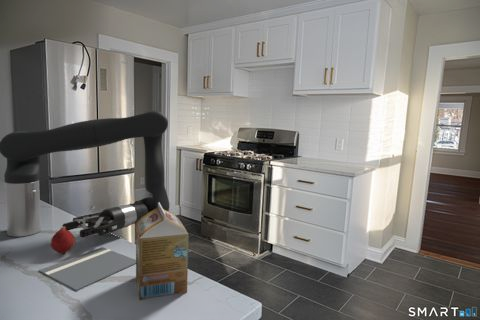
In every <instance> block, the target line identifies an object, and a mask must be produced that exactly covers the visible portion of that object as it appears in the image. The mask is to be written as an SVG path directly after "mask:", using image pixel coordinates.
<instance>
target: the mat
mask: <svg viewBox="0 0 480 320" xmlns="http://www.w3.org/2000/svg"><path fill="white" fill-rule="evenodd" d="M134 265H135V266H136V258H132V257H129V256H127V255H125V254H121V253H119V252H116V251H115V250H112V249H110V248H105V247H103V246H102V247H99V248H96V249H93V250H90V251H87V252H85V253H82V254H80V255H77V256H74V257H71V258H68V259H66V260H65V259H64V260H63V261H60V262H58V263H54V264H52V265H49V266H47V267H44V268H40V269H39V270H38V271H39V272H40V273H42V274H43V275H46V276H47V277H49V278H51V279H53V280H55V281H56V282H58V283H61V284H62V285H64V286H66V287H67V288H70V289H71V290H74V291H75V292H78V291H80V290H83V289H84V288H86V287H87V288H88V286H89V287H90V286H91V285H93V284H96V283H98V282H99V281H102V280H104V279H106V278H109V277H111V276H113V275H115V274H118V273H119V272H121V271H123V270H126V269H128V268H130V267H132V266H134Z"/></svg>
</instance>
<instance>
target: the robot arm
mask: <svg viewBox="0 0 480 320" xmlns="http://www.w3.org/2000/svg"><path fill="white" fill-rule="evenodd" d="M168 121H169V120H168V119H167V116H166V115H165V113H163V112H161V111H159V110H149V111H146V112H144V113H140V114H136V115H135V114H134V115H132V116H127V117H114V118H113V117H112V118H111V117H110V118H109V117H108V118H107V117H106V118H99V119H98V118H97V119H96V118H95V119H90V120H83V121H79V122H74V123H73V122H72V123H69V124H64V125H63V126H59V127H55V128H52V129H46V130H39V131H38V130H37V131H35V130H34V131H25V130H24V131H23V130H20V131H19V130H18V131H14V132H10V133H8V134H6V135H5V136H4V137H2V138H1V140H0V154H1V155H2V157H4V158H6V168H5V172H4V192H5V213H6V214H5V215H6V233H7V234H6V235H7V236H9V237H14V238H15V237H16V238H18V237H27V236H31V235H35V234H37V233H39V232H41V230H42V227H41V226H42V224H41V223H42V222H41V221H42V220H41V199H40V198H41V196H40V191H41V190H40V172H41V156H45V155H47V154H48V155H49V154H52V153H59V152H69V151H70V152H72V151H79V150H86V149H93V148H98V147H104V146H107V145H111V144H116V143H118V142H122V141H125V140H130V139H135V138H143V145H144V184H145V185H144V187H145V191H147V192H148V193H150V194H151V195H152V196H147V197H144V198H142V199H140V200H138V201H137V202H133V203H129V204H121V205H118V206H112V207H109V208H106V209H103V210H102V211H101V212H100V214H99V215H92V214H91V213H90V214H85V215H81V216H75V217H73V218H72V221H69V222H65V223H63V224H62V225H61V227H66V230H68V231H71V230H76V229H80V230H79V238H82V239H83V238H87V237H89V236H97V235H99V237H102V236H106V235H108V234H112V233H114V232H116V231H118V230H121V229H124V228H127V227H128V228H129V226H132V225H134V224H135V225H136V222H138V221H139V220H140V219H141V218H142V217H143V216H145V215H146V214H148V213H149V212H151V211H153V210H154V209H156V208H158V202H160V204H161V206H162V208H163V209H164V210H166V211H168V212H169V211H170V200H169V197H168V193H167V190H166V186H165V181H166V180H165V166H164V158H163V150H162V149H163V148H162V147H163V146H162V141H163V136H164V135H163V134H164V133H165V132H166V131H167V129H168V125H169V122H168Z"/></svg>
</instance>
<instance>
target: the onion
mask: <svg viewBox="0 0 480 320" xmlns="http://www.w3.org/2000/svg"><path fill="white" fill-rule="evenodd" d="M75 242H76V239H75V236H74V234H73V233H72V232H71V230H66V227H63V226H61V227H60V229H59V230H58V231H57V232H55V233H54V235H52V237H51V240H50V246H51V248H52V250H53V251H54V252H56V253H59V254H61V255H65V254H66V253H68V252H69V251H70V250H71V249H72V248H73V247H74V246H75Z"/></svg>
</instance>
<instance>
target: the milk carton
mask: <svg viewBox="0 0 480 320" xmlns="http://www.w3.org/2000/svg"><path fill="white" fill-rule="evenodd" d="M189 235H190V234H189V233H188V231H187V229H186V227H185V226H184V224H183V222H182V221H181V220H180V218H178V217H177V215H175V214H173V213H171V212H169V211H166V210H164V209H163V208H162V206H161V204H160V202H158V208H156V209H154V210H153V211H151V212H149V213H148V214H146V215H145V216H143V217H142V218H141V219H140V220H139V221H138V222H136V223H135V260H136V264H135V280H136V287H137V295H138V300H139V301H143V300H144V301H145V300H149V299H155V298H160V297H167V296H173V295H179V294H185V293H188V271H189V268H188V267H189V265H188V264H189Z"/></svg>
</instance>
